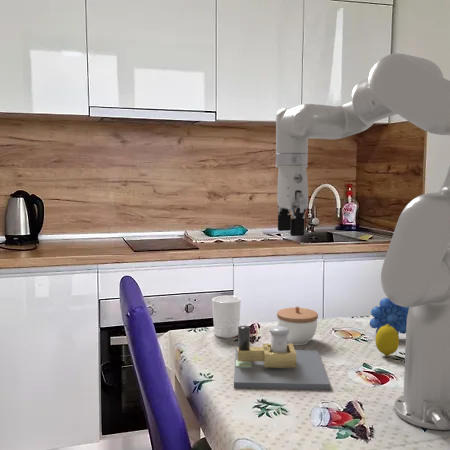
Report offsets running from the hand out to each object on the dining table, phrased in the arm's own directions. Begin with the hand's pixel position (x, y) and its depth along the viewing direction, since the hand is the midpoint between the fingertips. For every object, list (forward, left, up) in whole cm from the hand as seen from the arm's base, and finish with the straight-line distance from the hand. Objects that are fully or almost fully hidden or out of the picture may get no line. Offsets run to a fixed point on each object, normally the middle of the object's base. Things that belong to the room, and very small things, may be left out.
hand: (290, 233), depth 124 cm
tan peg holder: (-10, +6, -28) cm, 31 cm away
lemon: (0, -24, -31) cm, 39 cm away
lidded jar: (+10, -3, -31) cm, 32 cm away
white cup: (+15, +16, -31) cm, 38 cm away
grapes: (+14, -29, -31) cm, 44 cm away
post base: (-10, +3, -30) cm, 32 cm away
